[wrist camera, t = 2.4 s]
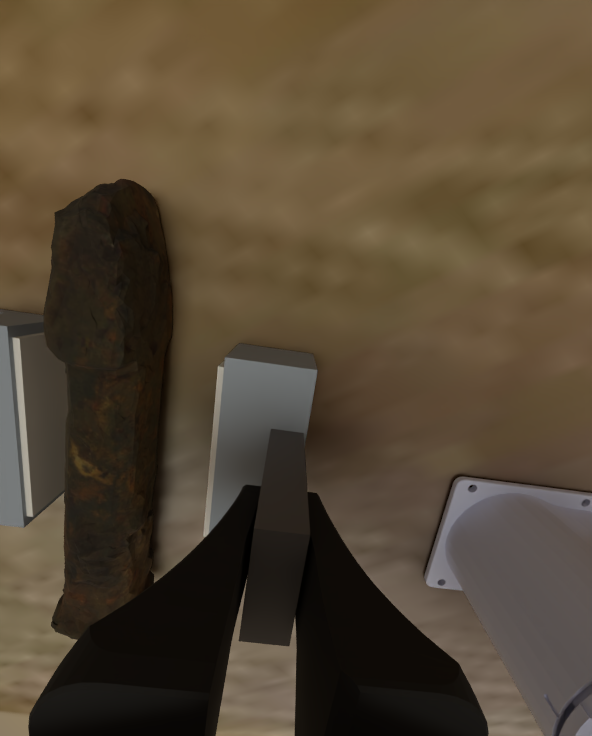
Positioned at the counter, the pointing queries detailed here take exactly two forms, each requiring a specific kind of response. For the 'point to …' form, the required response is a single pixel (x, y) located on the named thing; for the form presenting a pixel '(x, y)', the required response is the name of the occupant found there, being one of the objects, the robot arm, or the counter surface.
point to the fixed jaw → (30, 419)
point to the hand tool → (108, 391)
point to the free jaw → (265, 476)
